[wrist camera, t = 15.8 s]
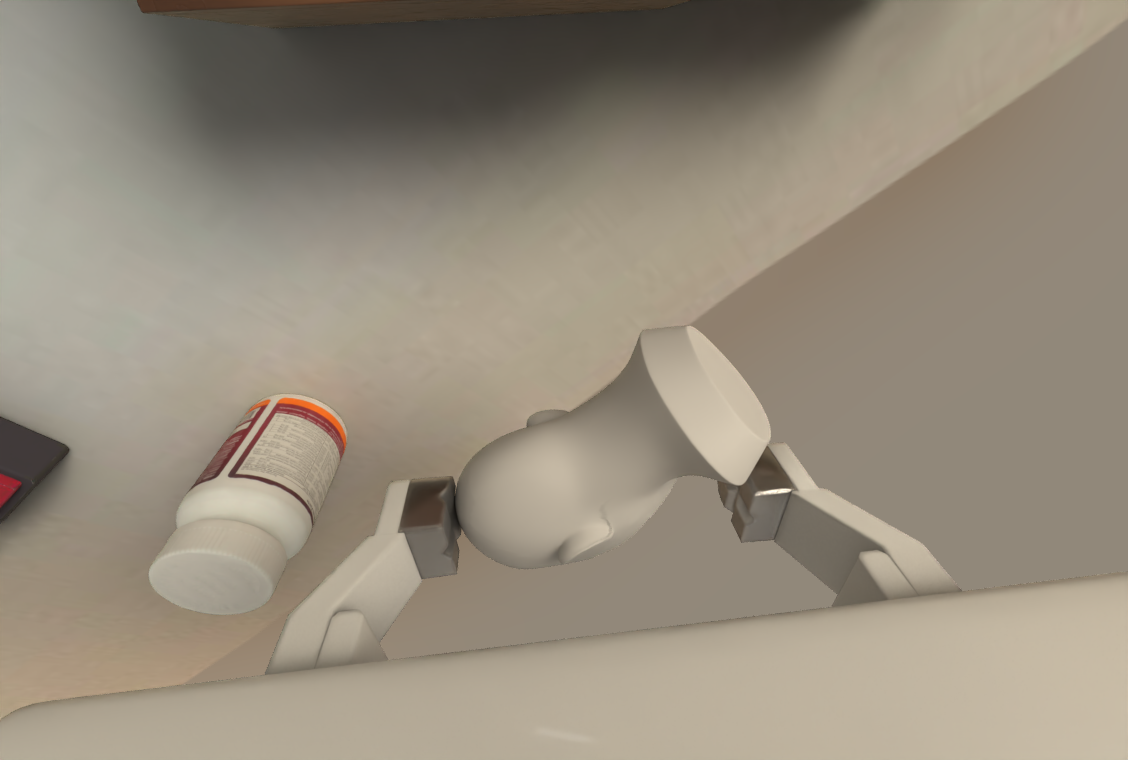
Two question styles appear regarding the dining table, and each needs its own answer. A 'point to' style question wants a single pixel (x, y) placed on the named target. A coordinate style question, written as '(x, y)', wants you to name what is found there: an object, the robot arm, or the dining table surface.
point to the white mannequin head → (612, 455)
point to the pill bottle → (251, 507)
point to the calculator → (23, 463)
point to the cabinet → (378, 10)
